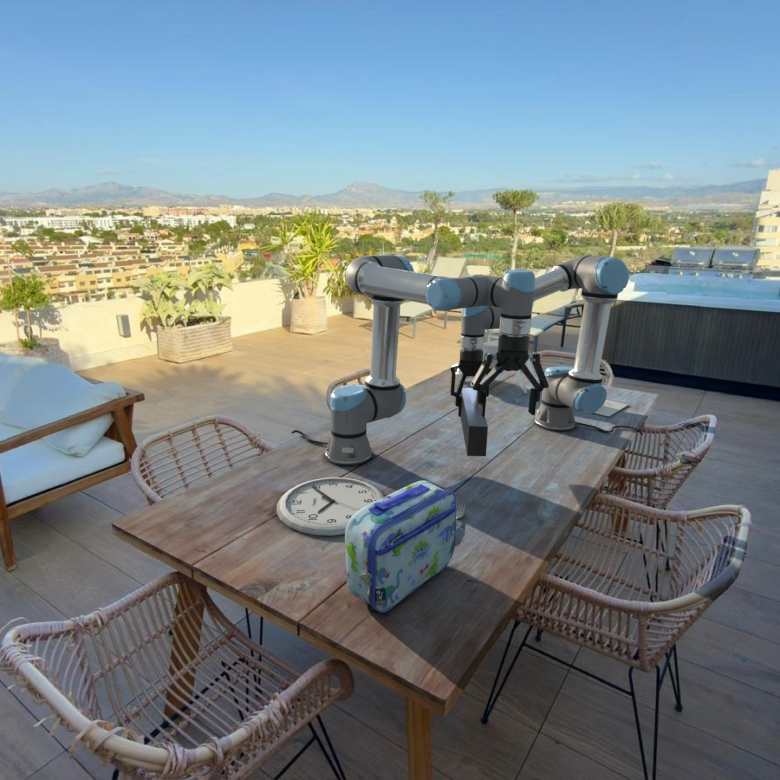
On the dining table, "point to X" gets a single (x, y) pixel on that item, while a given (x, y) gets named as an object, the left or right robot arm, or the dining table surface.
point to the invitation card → (610, 408)
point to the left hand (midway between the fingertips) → (506, 414)
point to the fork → (459, 514)
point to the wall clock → (325, 504)
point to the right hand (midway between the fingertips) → (468, 415)
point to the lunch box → (399, 543)
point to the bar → (473, 424)
